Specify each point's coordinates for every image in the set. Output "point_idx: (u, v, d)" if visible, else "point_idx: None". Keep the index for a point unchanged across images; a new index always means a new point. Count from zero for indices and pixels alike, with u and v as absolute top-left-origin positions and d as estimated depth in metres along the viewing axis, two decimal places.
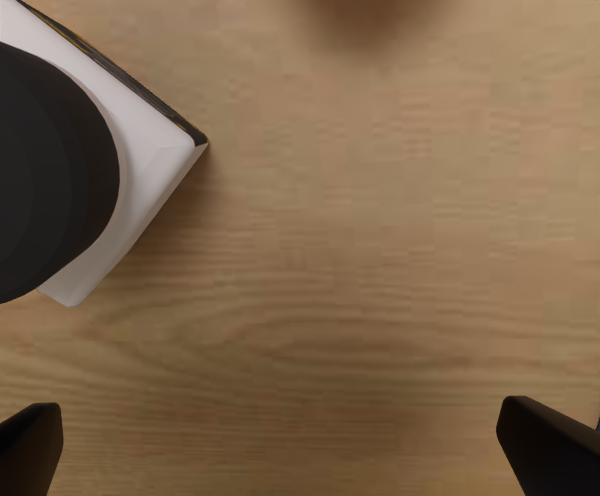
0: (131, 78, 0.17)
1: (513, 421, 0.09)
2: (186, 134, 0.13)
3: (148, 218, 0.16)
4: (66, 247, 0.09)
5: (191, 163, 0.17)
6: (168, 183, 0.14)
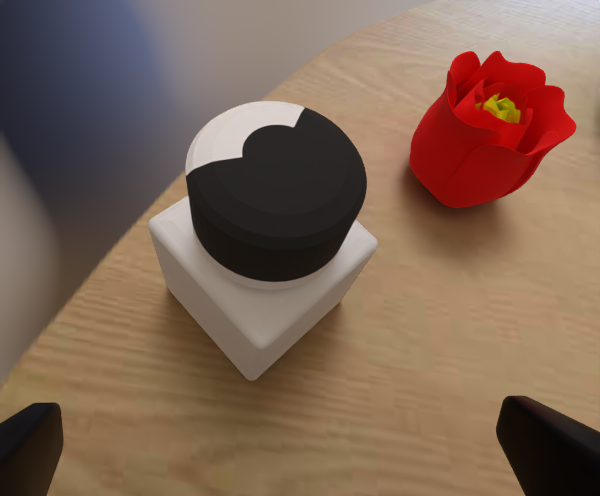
0: None
1: (513, 421, 0.09)
2: (373, 237, 0.19)
3: (311, 317, 0.19)
4: (347, 219, 0.13)
5: (341, 293, 0.21)
6: (356, 265, 0.18)
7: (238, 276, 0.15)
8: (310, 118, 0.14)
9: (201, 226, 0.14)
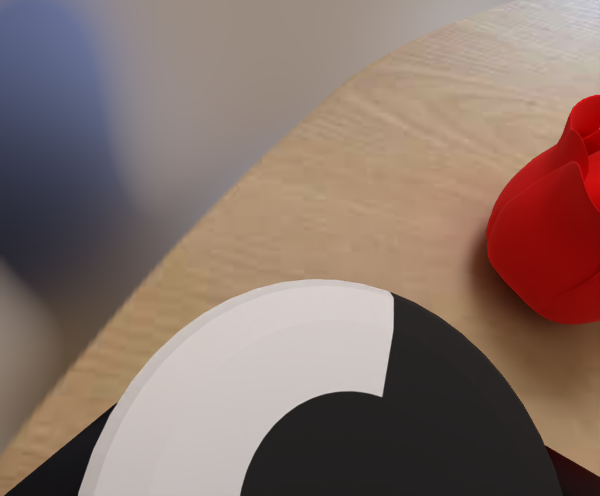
0: None
1: None
2: None
3: None
4: None
5: None
6: None
7: None
8: (420, 350, 0.05)
9: None
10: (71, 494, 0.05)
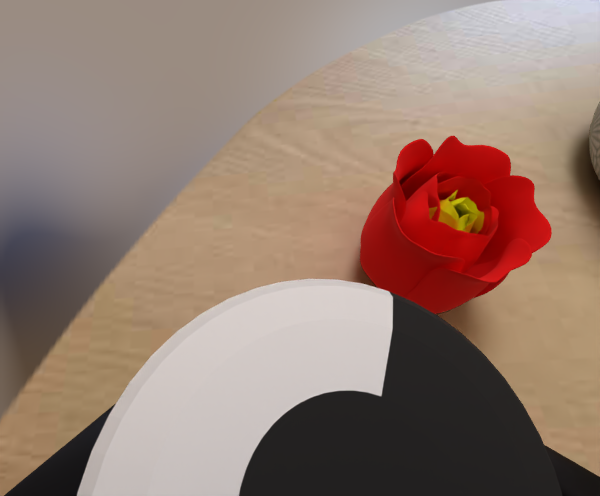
0: None
1: None
2: None
3: None
4: None
5: None
6: None
7: None
8: (418, 349, 0.05)
9: None
10: (71, 494, 0.05)
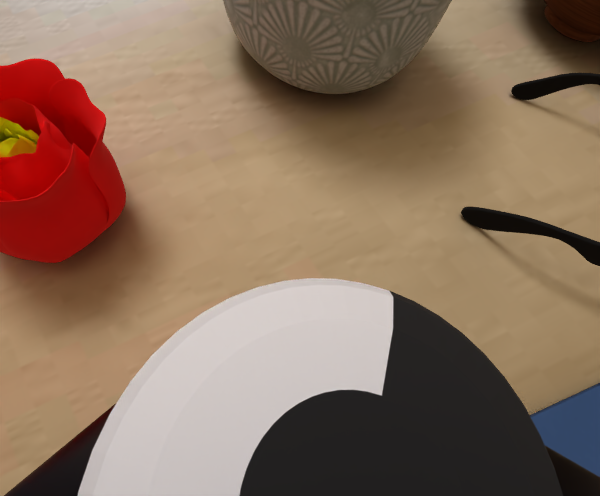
0: None
1: None
2: None
3: None
4: None
5: None
6: None
7: None
8: (419, 349, 0.05)
9: None
10: (71, 494, 0.05)
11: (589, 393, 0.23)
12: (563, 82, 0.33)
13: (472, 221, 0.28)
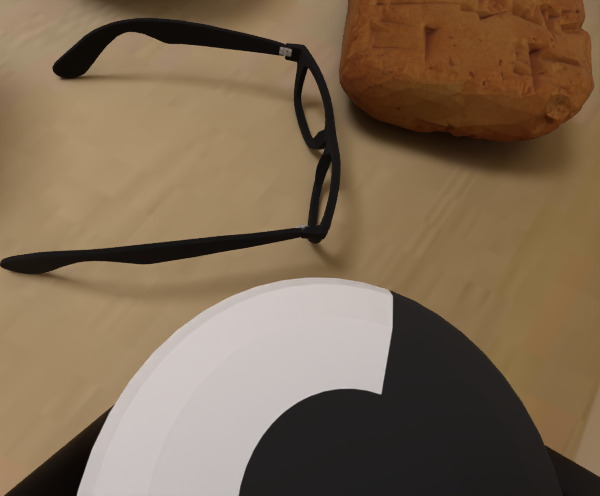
0: None
1: None
2: None
3: None
4: None
5: None
6: None
7: None
8: (418, 348, 0.05)
9: None
10: (71, 494, 0.05)
11: None
12: (94, 43, 0.27)
13: (23, 271, 0.22)
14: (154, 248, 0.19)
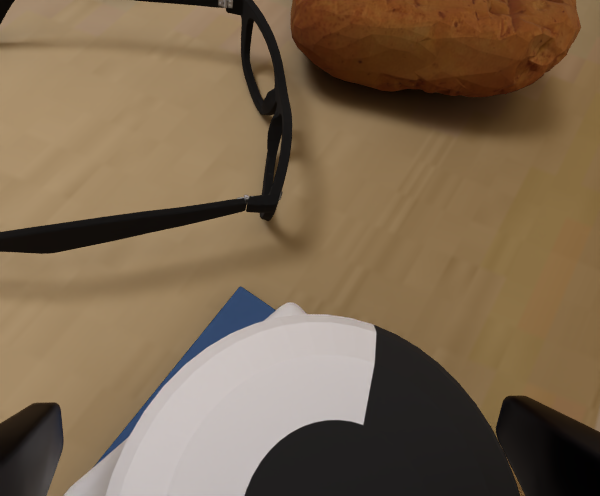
0: None
1: (513, 421, 0.09)
2: None
3: None
4: None
5: None
6: None
7: None
8: (397, 381, 0.06)
9: None
10: None
11: (129, 430, 0.16)
12: None
13: None
14: (52, 230, 0.15)
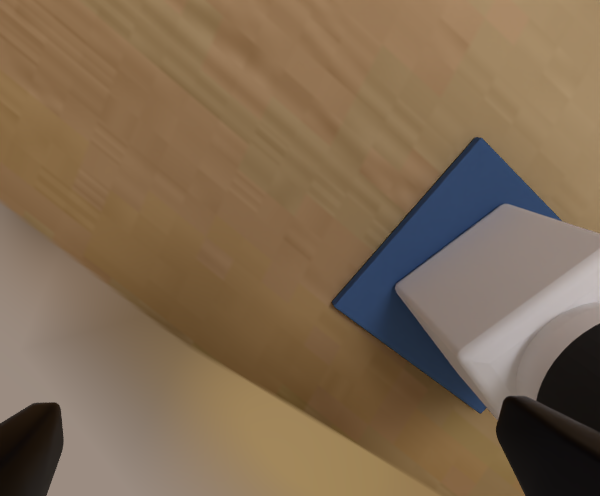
0: None
1: (513, 421, 0.09)
2: None
3: (462, 373, 0.19)
4: None
5: (473, 390, 0.21)
6: None
7: (550, 359, 0.14)
8: None
9: None
10: None
11: (538, 201, 0.22)
12: None
13: None
14: None
